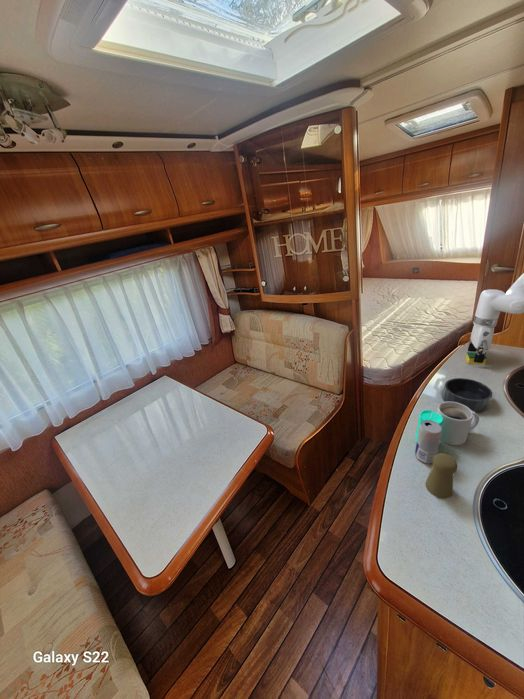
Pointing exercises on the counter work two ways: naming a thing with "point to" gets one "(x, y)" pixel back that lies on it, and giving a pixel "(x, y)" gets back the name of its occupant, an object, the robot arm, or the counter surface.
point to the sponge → (471, 356)
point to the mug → (456, 422)
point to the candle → (428, 416)
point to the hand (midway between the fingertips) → (474, 356)
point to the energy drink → (428, 441)
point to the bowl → (468, 394)
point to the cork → (441, 476)
